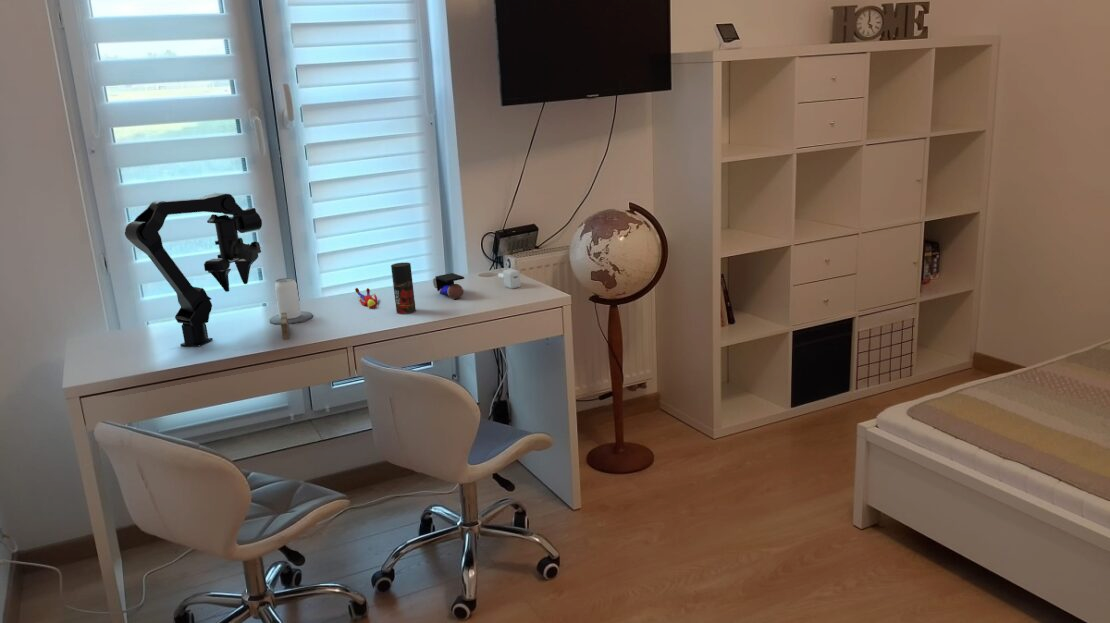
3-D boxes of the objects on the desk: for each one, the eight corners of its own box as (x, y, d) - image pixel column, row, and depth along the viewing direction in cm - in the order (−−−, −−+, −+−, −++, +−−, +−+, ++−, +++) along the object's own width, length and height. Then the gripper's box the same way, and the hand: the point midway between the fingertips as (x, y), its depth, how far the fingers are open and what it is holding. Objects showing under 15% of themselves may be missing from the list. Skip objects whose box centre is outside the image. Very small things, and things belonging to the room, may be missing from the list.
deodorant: (393, 313, 263) (387, 266, 259) (402, 308, 269) (396, 262, 265) (410, 314, 262) (405, 266, 258) (418, 309, 267) (413, 262, 263)
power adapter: (494, 284, 294) (493, 267, 292) (506, 281, 296) (505, 265, 295) (510, 289, 284) (508, 272, 283) (522, 287, 287) (521, 270, 285)
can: (301, 318, 263) (295, 280, 260) (279, 320, 261) (273, 283, 258) (301, 313, 269) (295, 276, 266) (279, 316, 267) (274, 278, 264)
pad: (298, 324, 258) (298, 322, 258) (261, 324, 261) (260, 322, 261) (320, 313, 270) (320, 311, 270) (284, 313, 273) (283, 311, 273)
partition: (288, 338, 244) (286, 323, 242) (283, 339, 243) (280, 324, 242) (288, 326, 257) (286, 312, 256) (283, 327, 256) (281, 312, 255)
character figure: (368, 282, 289) (376, 293, 271) (374, 293, 291) (382, 305, 272) (353, 289, 288) (360, 301, 269) (358, 300, 289) (366, 313, 271)
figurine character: (433, 297, 287) (449, 301, 274) (430, 275, 286) (446, 277, 272) (451, 294, 290) (468, 297, 277) (448, 272, 289) (465, 274, 275)
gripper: (232, 241, 238) (241, 295, 243) (269, 229, 256) (277, 279, 260) (198, 242, 241) (208, 295, 245) (237, 230, 259) (245, 280, 263)
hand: (236, 287), depth 253 cm, fingers open, 9 cm apart
